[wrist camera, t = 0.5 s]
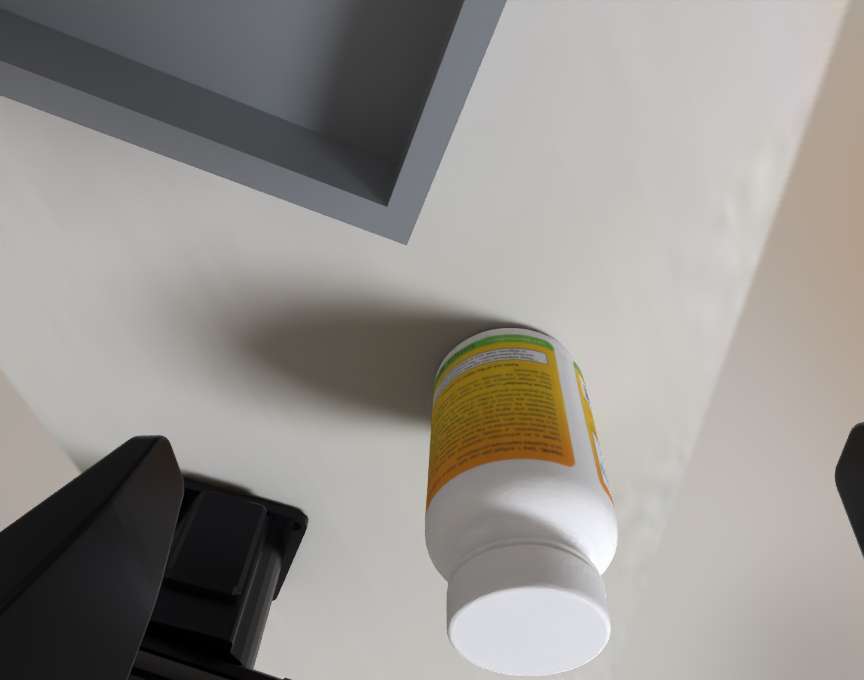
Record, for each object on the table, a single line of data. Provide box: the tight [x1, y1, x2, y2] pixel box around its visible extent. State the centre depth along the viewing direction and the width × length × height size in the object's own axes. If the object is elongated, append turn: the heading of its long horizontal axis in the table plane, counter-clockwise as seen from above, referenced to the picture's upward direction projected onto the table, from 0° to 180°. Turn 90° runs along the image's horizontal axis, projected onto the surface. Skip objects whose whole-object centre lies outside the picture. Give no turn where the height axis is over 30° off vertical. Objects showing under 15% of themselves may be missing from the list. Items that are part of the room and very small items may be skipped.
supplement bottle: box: [425, 328, 618, 676], centre depth 20 cm, size 5×5×10 cm
